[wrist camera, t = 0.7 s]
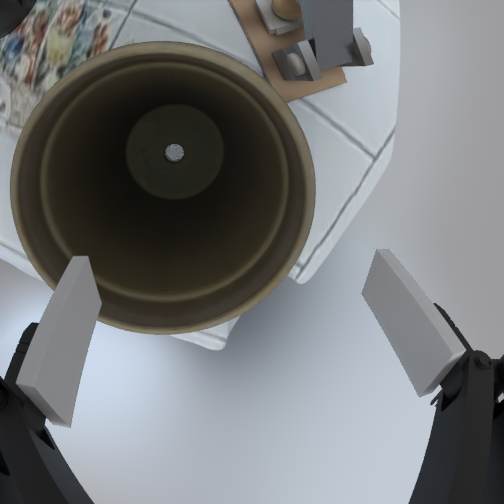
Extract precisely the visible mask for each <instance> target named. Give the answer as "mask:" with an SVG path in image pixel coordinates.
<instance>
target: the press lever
mask: <svg viewBox="0 0 504 504" xmlns="http://www.w3.org/2000/svg"><path fill="white" fill-rule="evenodd" d="M295 1H296V2H298V3H299V4H300V5H301V11H302V18H303V25H304V32H305V39H306V40H308V42H309V44H310V46H311V49H312V51H313V54H314V56H315V58H316V61H317V63H318V66H319V68H320V71H321V70H325V69H328V68H331V67H335V66H338V65H342V64H346V63H349V62H352V54H353V0H295Z"/></svg>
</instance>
